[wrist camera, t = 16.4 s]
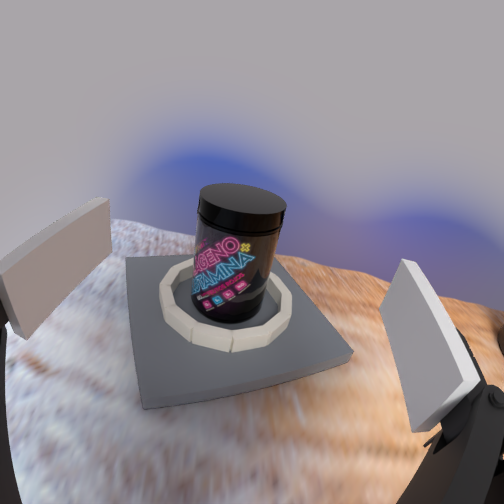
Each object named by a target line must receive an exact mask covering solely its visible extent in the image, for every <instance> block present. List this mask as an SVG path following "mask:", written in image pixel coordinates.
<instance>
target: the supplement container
mask: <svg viewBox="0 0 504 504" xmlns="http://www.w3.org/2000/svg"><path fill="white" fill-rule="evenodd" d="M286 207H287V205H286V202H285V201H284V200H283V199H282V198H281V197H279V196H277V195H276V194H273V193H271V192H269V191H266V190H263V189H260V188H257V187H252V186H247V185H241V184H230V183H222V184H212V185H208V186H205V187H203V188H202V189H201V190H200V195H199V204H198V210H197V214H198V218H197V228H196V237H195V248H194V260H193V273H192V287H191V300H192V302H193V305H194V307H195V308H196V309H197V311H198V312H199V313H200V314H202V315H203V316H204V317H206V318H208V319H209V320H212V321H214V322H217V323H221V324H239V323H243V322H246V321H248V320H250V319H252V318H253V317H255V316H256V315H257V313H258V312H259V311H260V309H261V307H262V303H263V299H264V295H265V291H266V287H267V283H268V279H269V275H270V271H271V267H272V263H273V259H274V255H275V251H276V247H277V243H278V239H279V234H280V230H281V228H282V225H283V219H284V215H285V211H286Z"/></svg>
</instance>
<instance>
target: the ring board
mask: <svg viewBox="0 0 504 504" xmlns="http://www.w3.org/2000/svg"><path fill="white" fill-rule="evenodd" d="M193 260H194V254H193V255H171V256H149V257H127V258H126V280H127V295H128V308H129V319H130V328H131V337H132V345H133V352H134V359H135V366H136V372H137V378H138V384H139V390H140V395H141V400H142V404H143V408H144V409H152V408H161V407H168V406H176V405H182V404H189V403H195V402H201V401H206V400H212V399H217V398H222V397H227V396H232V395H236V394H241V393H245V392H250V391H254V390H258V389H262V388H266V387H270V386H273V385H277V384H281V383H284V382H288V381H291V380H295V379H298V378H302V377H305V376H308V375H311V374H314V373H318V372H321V371H324V370H327V369H330V368H333V367H335V366H338V365H341V364H344V363H347V362H348V361H349V359H350V357H351V356H352V354H353V352H354V351H353V350H352V349H351V347H350V346H349V345H348V344H347V343H346V341H345V340H344V339H343V338H342V337H341V335H340V334H339V333H338V332H337V331H336V329H335V328H334V327H333V326H332V325H331V323H330V322H329V321H328V320H327V319H326V317H325V316H324V315H323V314H322V313H321V311H320V310H319V309H318V308H317V307H316V305H315V304H314V303H313V302H312V301H311V300H310V298H309V297H308V296H307V295H306V294H305V292H304V291H303V290H302V289H301V288H300V286H299V285H298V284H297V283H296V282H295V281H294V279H293V278H292V277H291V276H290V275H289V273H288V272H287V271H286V270H285V269H284V268H283V266H282V265H281V264H280V263H279V262H278V261H277V259H276V258H275V257H274V259H273V263H272V267H271V271H270V275H269V279H268V283H267V287H266V291H265V295H264V299H263V303H262V307H261V309H260V311H259V312H258V313H257V315H256V316H255V317H253V318H252V319H250V320H248V321H246V322H243V323H239V324H221V323H217V322H214V321H212V320H209V319H208V318H206V317H204V316H203V315H202V314H200V313H199V312H198V311H197V309H196V308H195V307H194V305H193V302H192V300H191V287H192V273H193Z"/></svg>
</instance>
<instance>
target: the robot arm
mask: <svg viewBox="0 0 504 504" xmlns="http://www.w3.org/2000/svg"><path fill="white" fill-rule="evenodd" d="M111 253H112V241H111V227H110V206H109V199H105V198H100V197H96V198H94V199H92V200H90V201H89V202H87V203H85V204H84V205H82V206H80V207H78V208H77V209H75V210H73V211H72V212H70V213H69V214H67V215H65V216H64V217H62V218H60V219H59V220H57V221H56V222H54V223H53V224H51V225H49V226H48V227H47V228H45V229H43V230H42V231H40V232H39V233H38V234H36V235H34V236H33V237H32V238H30V239H29V240H27V241H26V242H24V243H23V244H22V245H20V246H19V247H17V248H16V249H15V250H13V251H12V252H11V253H9V254H8V255H7V256H5V257H4V258H3V259H1V260H0V504H22V502H21V498H20V494H19V491H18V487H17V482H16V478H15V474H14V469H13V463H12V458H11V452H10V445H9V438H8V429H7V418H6V403H5V357H6V341H7V329H6V327H5V324H6V323H7V322H8V321H9V322H10V324H11V327H12V329H13V331H14V333H15V334H17V335H19V336H20V337H22V338H24V339H25V340H28V339H29V338H30V336H31V335H32V334H33V333H34V332H35V331H36V329H37V328H38V327H39V326H40V325H41V324H42V323H43V322H44V320H45V319H46V318H47V317H48V316H49V315H50V314H51V313H52V312H53V311H54V310H55V308H56V307H57V306H58V305H59V304H60V303H61V302H62V301H63V300H64V299H65V298H66V297H67V296H68V295H69V294H70V293H71V292H72V291H73V290H74V289H75V288H76V287H77V286H78V285H79V284H80V283H81V282H82V281H83V280H84V279H85V278H86V277H87V276H88V275H89V274H90V273H91V272H92V271H93V270H94V269H95V268H96V267H97V266H98V265H99V264H100V263H101V262H102V261H103V260H104V259H105V258H106V257H107V256H109V255H110V254H111ZM379 311H380V314H381V317H382V320H383V323H384V326H385V329H386V332H387V336H388V339H389V342H390V345H391V349H392V352H393V356H394V359H395V363H396V367H397V370H398V374H399V378H400V382H401V386H402V390H403V394H404V398H405V402H406V407H407V411H408V416H409V421H410V426H411V431H412V433H414V432H427V431H430V430H431V429H432V428H434V427H435V426H436V425H437V424H438V423H439V422H440V423H441V426H442V429H441V430H440V431H439V432H438V433H437V434H436V435H434V436H433V437H432V438H431V439H429V440H428V441H427V442H426V443H425V444H424V445H423V446H424V447H426V446H428V445H429V444H430V443H432V444H431V446H430V448H429V449H428V452H427V454H426V456H425V458H424V459H423V461H422V463H421V465H420V466H419V468H418V470H417V472H416V473H415V475H414V477H413V478H412V480H411V482H410V483H409V485H408V486H407V488H406V489H405V491H404V492H403V494H402V495H401V497H400V498H399V500H398V501H397V503H396V504H504V460H503V454H504V392H503V391H502V390H501V389H500V388H498V387H496V386H494V385H487V383H486V381H485V378H484V376H483V374H482V372H481V370H480V367H479V365H478V363H477V361H476V359H475V357H473V353H472V351H471V349H469V345H468V343H467V341H466V339H465V337H464V336H463V335H462V334H461V333H460V331H459V330H458V329H457V328H456V327H455V326H454V324H453V323H452V321H451V319H450V317H449V315H448V314H447V312H446V310H445V308H444V307H443V305H442V303H441V301H440V300H439V298H438V296H437V295H436V293H435V291H434V290H433V288H432V287H431V285H430V283H429V282H428V280H427V278H426V277H425V275H424V274H423V272H422V271H421V269H420V268H419V266H418V265H417V263H416V262H413V261H409V260H405V259H402V260H401V262H400V264H399V267H398V269H397V272H396V274H395V276H394V278H393V280H392V282H391V285H390V287H389V289H388V291H387V293H386V295H385V297H384V300H383V302H382V304H381V306H380V308H379ZM498 340H499V344H500V347H501V350H502V352H503V354H504V325H503V326H502V328H501V329H500V331H499V333H498Z"/></svg>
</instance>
